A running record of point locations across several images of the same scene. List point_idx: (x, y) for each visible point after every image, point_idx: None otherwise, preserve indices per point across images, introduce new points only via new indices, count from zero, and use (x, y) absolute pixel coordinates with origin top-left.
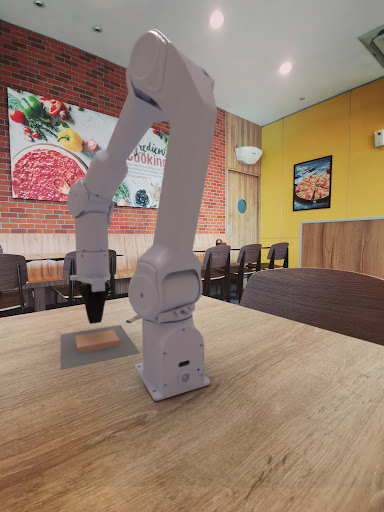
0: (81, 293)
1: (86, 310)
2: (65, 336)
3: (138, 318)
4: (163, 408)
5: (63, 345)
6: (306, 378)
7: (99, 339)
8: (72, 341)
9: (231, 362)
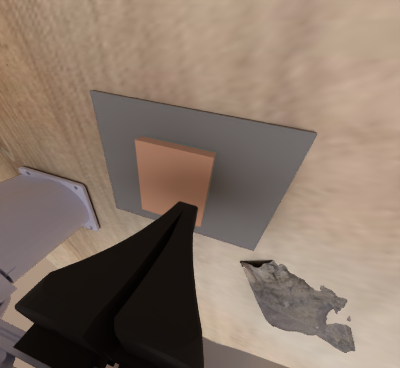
0: (50, 275)
1: (151, 223)
2: (282, 141)
3: (263, 282)
4: (17, 166)
5: (212, 120)
6: (55, 249)
7: (159, 187)
8: (225, 146)
9: (82, 243)
